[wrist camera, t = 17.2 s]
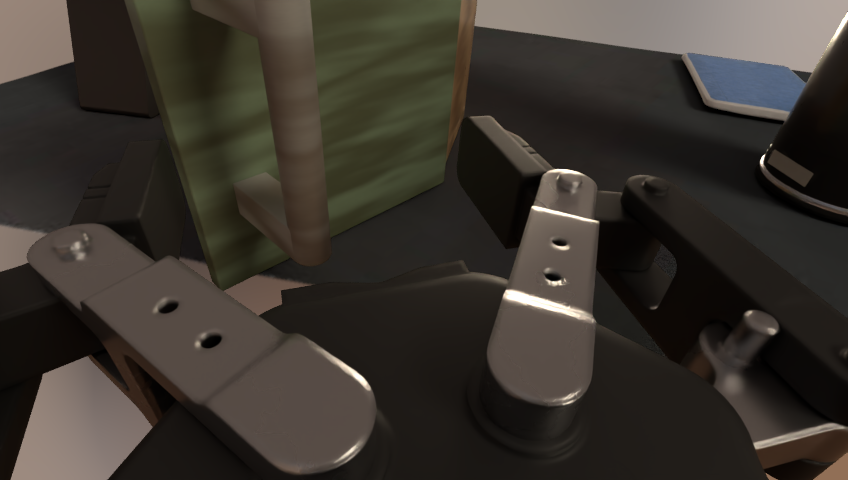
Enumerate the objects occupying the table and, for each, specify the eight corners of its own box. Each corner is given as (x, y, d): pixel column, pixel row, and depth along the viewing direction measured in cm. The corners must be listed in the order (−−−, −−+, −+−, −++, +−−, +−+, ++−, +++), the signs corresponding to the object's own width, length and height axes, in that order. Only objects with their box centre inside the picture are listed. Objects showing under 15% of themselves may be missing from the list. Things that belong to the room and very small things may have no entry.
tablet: (678, 60, 60) (682, 49, 59) (784, 75, 57) (790, 64, 57) (701, 112, 45) (707, 99, 45) (845, 135, 43) (854, 122, 42)
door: (506, 215, 28) (583, -158, 18) (281, 358, 19) (149, -253, 8) (433, 176, 32) (460, -158, 21) (212, 282, 22) (52, -226, 12)
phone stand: (149, 76, 44) (103, -73, 37) (207, 82, 44) (172, -67, 36) (81, 110, 37) (7, -65, 30) (149, 119, 37) (91, -57, 29)
